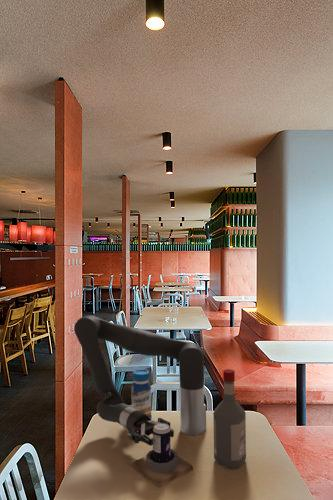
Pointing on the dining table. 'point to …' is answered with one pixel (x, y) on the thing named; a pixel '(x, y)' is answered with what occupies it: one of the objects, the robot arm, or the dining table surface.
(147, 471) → the base plate
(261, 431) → the dining table surface
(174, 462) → the collar
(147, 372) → the beverage bottle
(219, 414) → the liquor
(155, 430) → the beverage can
